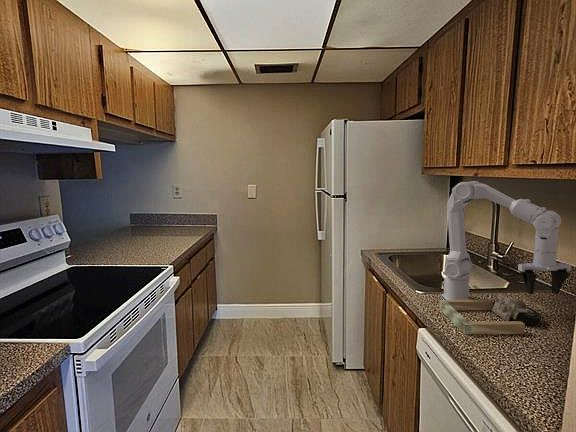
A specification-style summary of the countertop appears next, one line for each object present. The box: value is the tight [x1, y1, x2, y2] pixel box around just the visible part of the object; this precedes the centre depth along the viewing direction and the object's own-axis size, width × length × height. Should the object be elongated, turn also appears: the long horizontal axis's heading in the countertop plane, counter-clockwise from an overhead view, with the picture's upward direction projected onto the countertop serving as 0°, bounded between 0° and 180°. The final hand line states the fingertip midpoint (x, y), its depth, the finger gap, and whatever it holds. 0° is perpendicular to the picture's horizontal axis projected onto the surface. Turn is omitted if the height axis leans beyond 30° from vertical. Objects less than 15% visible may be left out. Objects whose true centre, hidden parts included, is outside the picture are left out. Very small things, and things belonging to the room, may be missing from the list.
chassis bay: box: [438, 299, 526, 335], centre depth 117 cm, size 20×18×3 cm
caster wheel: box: [491, 293, 543, 327], centre depth 117 cm, size 7×11×10 cm
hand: (542, 293), depth 113 cm, fingers open, 7 cm apart
